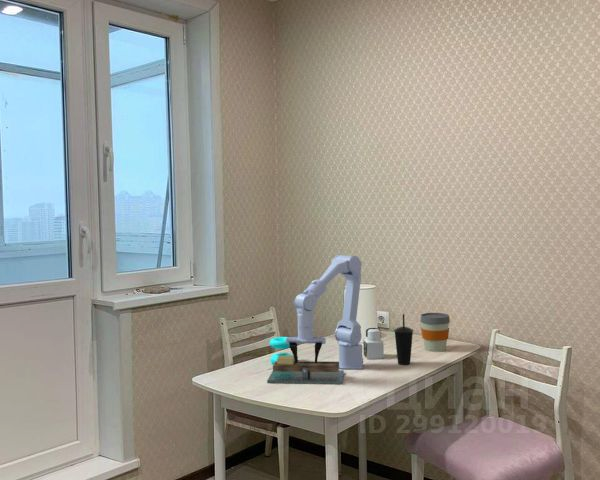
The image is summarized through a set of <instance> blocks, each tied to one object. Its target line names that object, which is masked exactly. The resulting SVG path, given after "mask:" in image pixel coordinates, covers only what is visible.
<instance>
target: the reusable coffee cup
mask: <svg viewBox="0 0 600 480" xmlns="http://www.w3.org/2000/svg"><path fill="white" fill-rule="evenodd" d="M420 323H421V327H420V330H421V336H422V339H423V344H424V345H423V346H424V350H425V351H428V352H434V353H437V352H439V353H441V352H445V351H446V349H447V342H448V339H449V333H450V328H449V327H450V326H449V325H450V323H451V320H450V315H449V314H448V313H443V312H425V313H422V314H421V315H420Z"/></svg>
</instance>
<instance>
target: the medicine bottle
mask: <svg viewBox="0 0 600 480" xmlns="http://www.w3.org/2000/svg"><path fill="white" fill-rule="evenodd" d="M381 336H382V335H381V329H379V328H378V327H377V328H376V327H369V328H366V329H365V338H363V344H362V345H363V356H364V357H365V358H366V360H379V359H380V360H381V359H384V358H385V357H384V356H385V355H384V354H385V353H384V352H385V351H384V341H383V340H382V339H381Z"/></svg>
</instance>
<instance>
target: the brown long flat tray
mask: <svg viewBox="0 0 600 480" xmlns="http://www.w3.org/2000/svg"><path fill="white" fill-rule="evenodd" d="M302 367H307V368H308V372H338V371H339V370H340V369H339V361H327V360H326V361H324V360H323V361H318V360H317V364H315V360H314V361H310V360H305V361H304V360H303V361H302V360H301V361H299V360H298V362H297V363H295V364H294V366H290V365H277V361H275V363H274V364H272V371H277V372H302Z"/></svg>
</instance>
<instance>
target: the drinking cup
mask: <svg viewBox="0 0 600 480" xmlns="http://www.w3.org/2000/svg"><path fill="white" fill-rule="evenodd" d="M393 331H394V337H395V348H396V357H397V365H400V366H409V365H411V357H412V345H413V334H414V329H413V328H410V327H409V326H406V325H405V313H402V326H399V327H395V328H394V329H393Z"/></svg>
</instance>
